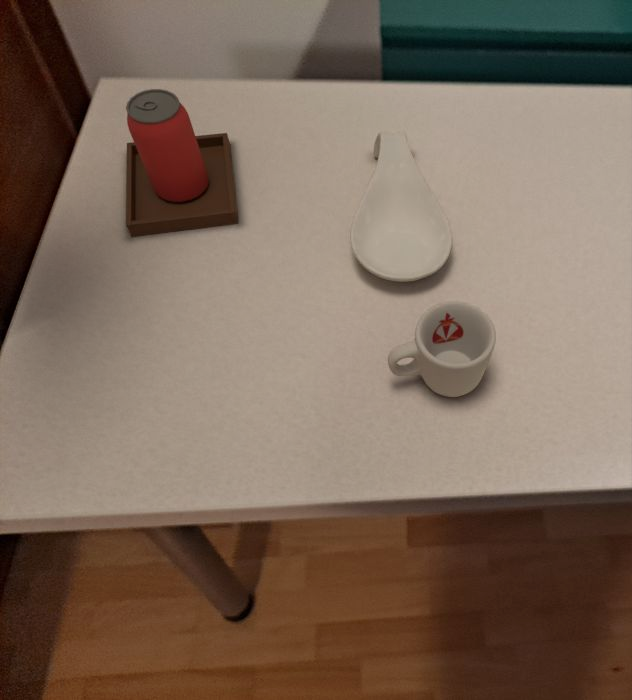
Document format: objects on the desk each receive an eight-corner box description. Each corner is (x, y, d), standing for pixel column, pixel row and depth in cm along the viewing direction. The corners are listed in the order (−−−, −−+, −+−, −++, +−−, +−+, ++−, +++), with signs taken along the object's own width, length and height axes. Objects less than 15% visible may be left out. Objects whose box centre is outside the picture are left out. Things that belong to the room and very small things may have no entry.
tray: (131, 237, 81) (125, 225, 79) (131, 155, 88) (126, 142, 86) (238, 223, 83) (235, 211, 81) (230, 144, 90) (227, 132, 89)
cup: (397, 419, 70) (396, 380, 64) (381, 355, 74) (379, 312, 68) (497, 398, 73) (506, 358, 66) (476, 337, 77) (483, 294, 70)
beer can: (162, 165, 87) (131, 82, 77) (215, 169, 87) (190, 88, 77) (147, 202, 83) (112, 121, 73) (202, 207, 83) (175, 126, 73)
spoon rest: (456, 293, 80) (461, 252, 74) (355, 300, 78) (351, 259, 72) (432, 153, 92) (434, 109, 86) (344, 157, 91) (340, 111, 85)
